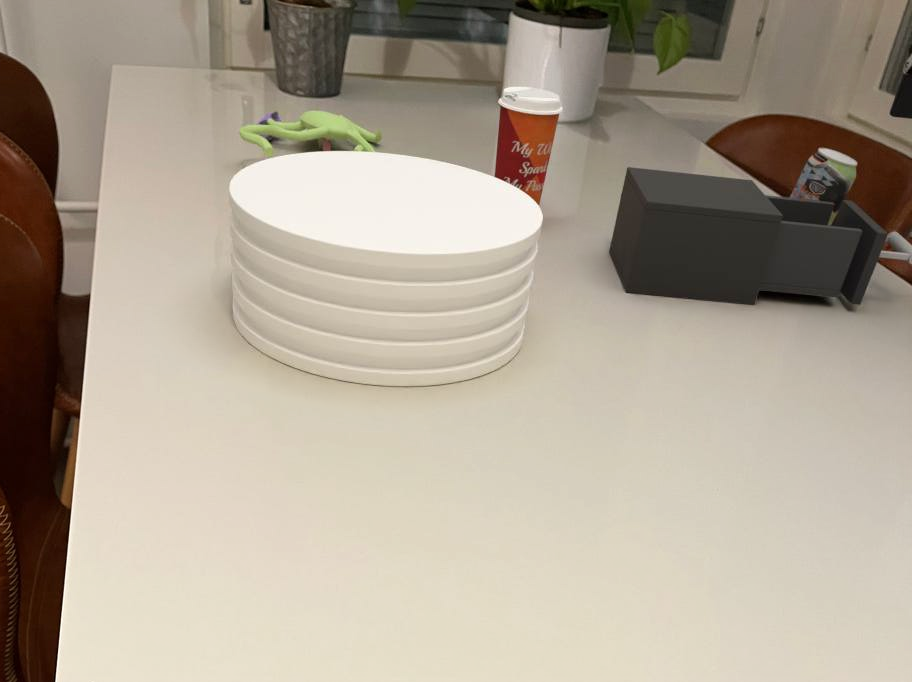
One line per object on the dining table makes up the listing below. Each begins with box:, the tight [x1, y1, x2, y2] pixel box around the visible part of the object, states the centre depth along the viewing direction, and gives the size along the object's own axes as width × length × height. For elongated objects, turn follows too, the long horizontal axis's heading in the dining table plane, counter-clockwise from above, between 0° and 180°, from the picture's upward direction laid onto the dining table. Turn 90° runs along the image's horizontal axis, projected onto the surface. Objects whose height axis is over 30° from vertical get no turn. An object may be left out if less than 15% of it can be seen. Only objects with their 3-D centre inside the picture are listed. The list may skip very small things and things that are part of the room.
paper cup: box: [494, 86, 564, 207], centre depth 120 cm, size 8×8×14 cm
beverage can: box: [789, 147, 858, 226], centre depth 121 cm, size 6×7×12 cm
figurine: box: [238, 110, 383, 158], centre depth 133 cm, size 18×27×6 cm
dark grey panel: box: [759, 194, 912, 306], centre depth 111 cm, size 19×11×8 cm, turn 91°
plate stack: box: [228, 150, 544, 387], centre depth 92 cm, size 28×28×12 cm
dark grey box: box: [608, 166, 783, 306], centre depth 110 cm, size 15×13×10 cm
